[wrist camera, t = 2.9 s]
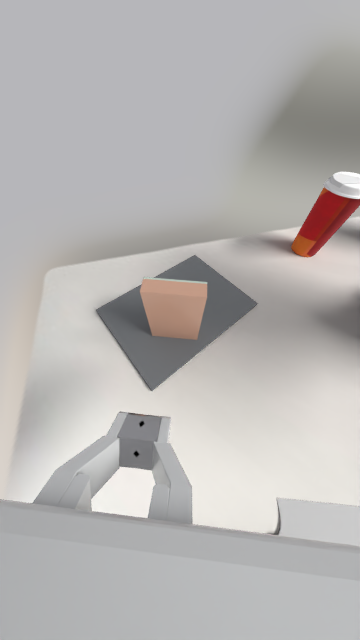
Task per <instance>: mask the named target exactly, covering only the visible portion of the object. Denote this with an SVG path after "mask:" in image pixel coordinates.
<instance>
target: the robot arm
mask: <svg viewBox="0 0 360 640" xmlns="http://www.w3.org/2000/svg"><path fill="white" fill-rule="evenodd" d="M170 424H171V417H163V416H153V415H143V414H135V413H126V412H119V413H118V415H117V417H116V419H115V421H114V422H113V424H112V426H111V428H110V430H109V432H108V434H107V436H103V437H101V438H100V439H98V440H97V441H96V442H94V443H93V444H91V445H90V446H89V447H87V448H86V449H84V450H83V451H82V452H80V453H79V454H77V455H76V456H75V457H73V458H72V459H70V460H69V461H68V462H66V463H65V464H63V465H62V466H61V467H59V468H58V469H56V471H55V472H54V473H53V475H52V476H51V478H50V479H49V480H48V482H47V483H46V485H45V486H44V488H43V489H42V490H41V492H40V493H39V495H38V496H37V497H36V499H35V500H34V502H33V503H25V502H17V501H9V500H1V499H0V640H360V546H356V545H348V544H341V543H333V542H325V541H318V540H310V539H302V538H294V537H287V536H279V535H271V534H264V533H256V532H248V531H241V530H233V529H225V528H218V527H210V526H202V525H195V524H192V486H191V484H190V482H189V480H188V478H187V476H186V474H185V472H184V470H183V468H182V466H181V464H180V462H179V460H178V458H177V456H176V454H175V452H174V450H173V448H172V446H171V444H169V436H170ZM119 467H131V468H140V469H146V470H152V473H153V476H154V480H155V483H156V485H155V486H154V487H153V493H152V498H151V503H150V509H149V514H148V518H140V517H132V516H125V515H117V514H109V513H102V512H94V511H92V508H91V499H92V498H93V496H94V495H95V494H96V493H97V492H98V491H99V490H100V489H101V488H102V487H103V485H104V484H105V483H106V482H107V481H108V480H109V479H110V478H111V477H112V475H113V474H114V473H115V472H116V471H117V470H118V469H119Z"/></svg>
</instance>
